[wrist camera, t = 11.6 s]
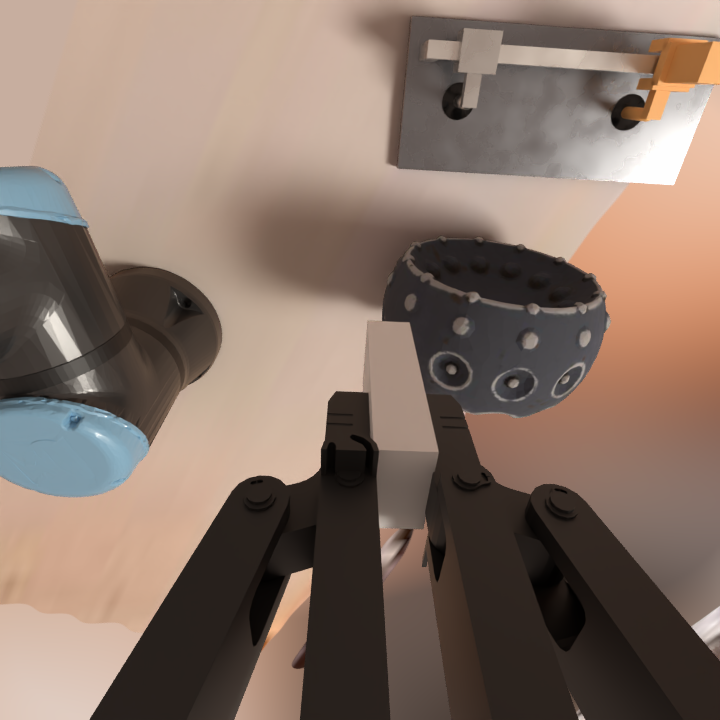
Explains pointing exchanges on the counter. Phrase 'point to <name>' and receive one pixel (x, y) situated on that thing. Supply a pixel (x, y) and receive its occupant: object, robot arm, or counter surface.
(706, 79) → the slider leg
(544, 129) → the bolt plate
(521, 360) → the studded round pot
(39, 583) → the counter surface
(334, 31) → the counter surface
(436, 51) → the grey slide rail
